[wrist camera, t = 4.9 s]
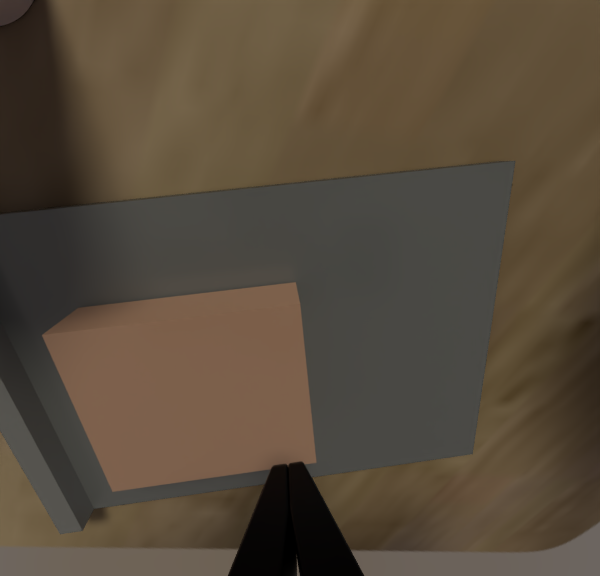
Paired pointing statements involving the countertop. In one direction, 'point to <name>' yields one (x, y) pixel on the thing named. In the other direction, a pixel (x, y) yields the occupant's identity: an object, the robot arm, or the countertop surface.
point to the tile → (189, 384)
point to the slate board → (261, 272)
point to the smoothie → (12, 10)
